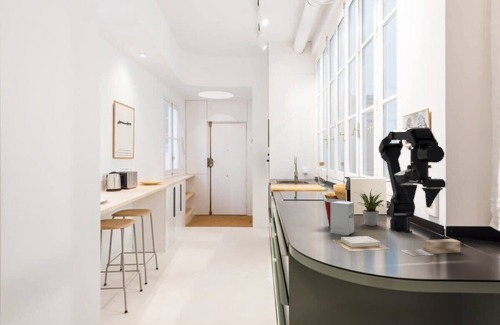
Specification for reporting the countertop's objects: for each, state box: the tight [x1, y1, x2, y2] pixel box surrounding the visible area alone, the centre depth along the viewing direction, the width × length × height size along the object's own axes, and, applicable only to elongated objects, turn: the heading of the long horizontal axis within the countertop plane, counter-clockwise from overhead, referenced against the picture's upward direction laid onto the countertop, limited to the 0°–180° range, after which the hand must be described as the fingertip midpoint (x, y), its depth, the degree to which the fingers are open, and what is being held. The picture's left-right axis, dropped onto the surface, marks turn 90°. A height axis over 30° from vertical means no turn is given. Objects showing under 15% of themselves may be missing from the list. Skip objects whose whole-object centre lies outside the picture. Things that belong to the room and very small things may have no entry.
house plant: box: [354, 188, 385, 227], centre depth 139 cm, size 14×14×16 cm
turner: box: [399, 238, 461, 257], centre depth 94 cm, size 17×6×4 cm, turn 98°
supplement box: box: [330, 201, 355, 236], centre depth 122 cm, size 7×7×13 cm
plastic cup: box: [323, 198, 349, 228], centre depth 135 cm, size 11×11×12 cm
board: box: [332, 239, 391, 252], centre depth 104 cm, size 14×14×1 cm
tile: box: [340, 235, 381, 248], centre depth 104 cm, size 2×8×10 cm
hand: (419, 205), depth 110 cm, fingers open, 9 cm apart
